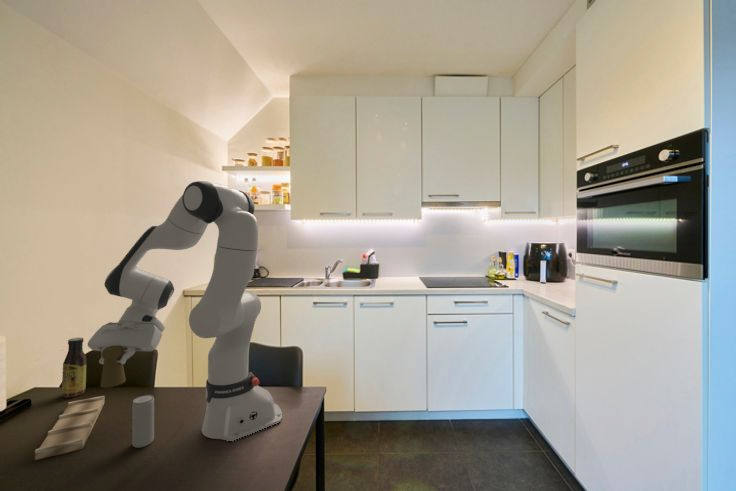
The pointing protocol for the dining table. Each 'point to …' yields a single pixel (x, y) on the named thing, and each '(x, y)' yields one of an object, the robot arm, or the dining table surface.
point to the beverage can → (142, 421)
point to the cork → (112, 367)
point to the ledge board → (71, 428)
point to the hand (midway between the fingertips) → (111, 363)
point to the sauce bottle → (74, 369)
